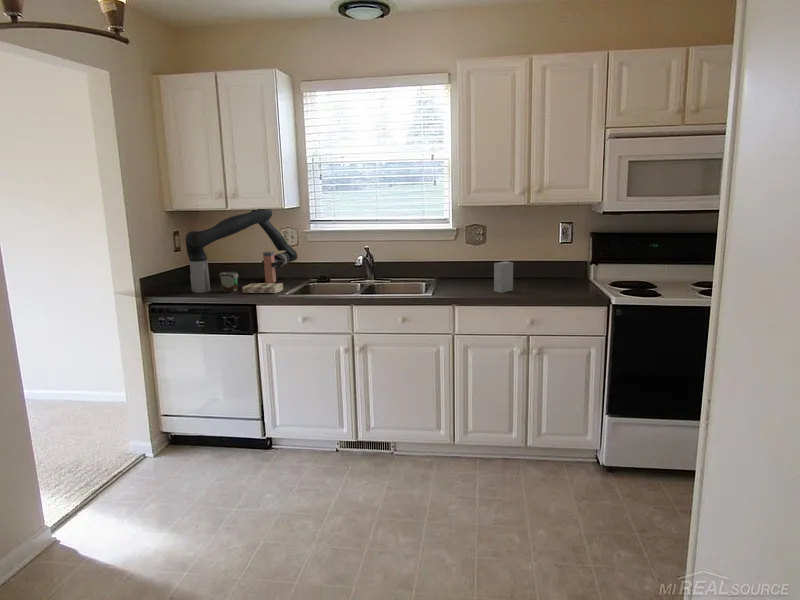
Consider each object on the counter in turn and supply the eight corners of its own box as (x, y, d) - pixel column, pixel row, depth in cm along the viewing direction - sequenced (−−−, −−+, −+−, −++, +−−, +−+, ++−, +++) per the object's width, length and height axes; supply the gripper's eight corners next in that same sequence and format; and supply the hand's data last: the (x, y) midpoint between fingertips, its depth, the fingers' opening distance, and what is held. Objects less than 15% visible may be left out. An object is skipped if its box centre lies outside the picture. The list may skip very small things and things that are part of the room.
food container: (244, 290, 309) (243, 272, 307) (235, 292, 304) (234, 274, 302) (229, 288, 316) (228, 271, 313) (221, 290, 311) (219, 272, 309)
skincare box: (505, 289, 291) (505, 260, 288) (513, 290, 286) (514, 262, 283) (493, 291, 287) (493, 262, 284) (501, 293, 282) (501, 263, 279)
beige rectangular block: (242, 293, 300) (242, 287, 299) (252, 289, 311) (251, 283, 311) (274, 293, 297) (274, 287, 296) (283, 289, 309) (282, 283, 308)
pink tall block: (265, 282, 314) (262, 252, 310) (268, 281, 318) (266, 251, 315) (273, 282, 313) (270, 252, 310) (276, 281, 318) (273, 251, 314)
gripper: (266, 254, 328) (254, 258, 311) (290, 254, 326) (279, 258, 309) (267, 267, 330) (256, 272, 313) (290, 266, 327) (280, 271, 311)
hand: (267, 265), depth 311 cm, fingers closed on pink tall block, 4 cm apart
